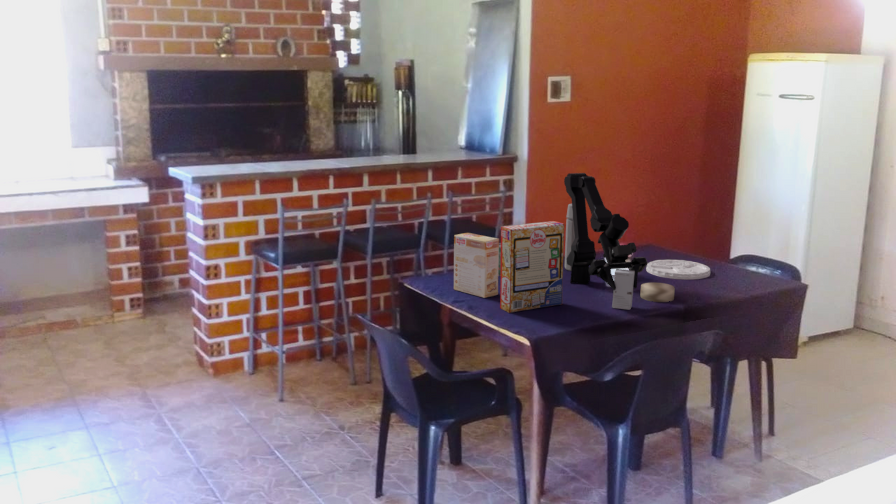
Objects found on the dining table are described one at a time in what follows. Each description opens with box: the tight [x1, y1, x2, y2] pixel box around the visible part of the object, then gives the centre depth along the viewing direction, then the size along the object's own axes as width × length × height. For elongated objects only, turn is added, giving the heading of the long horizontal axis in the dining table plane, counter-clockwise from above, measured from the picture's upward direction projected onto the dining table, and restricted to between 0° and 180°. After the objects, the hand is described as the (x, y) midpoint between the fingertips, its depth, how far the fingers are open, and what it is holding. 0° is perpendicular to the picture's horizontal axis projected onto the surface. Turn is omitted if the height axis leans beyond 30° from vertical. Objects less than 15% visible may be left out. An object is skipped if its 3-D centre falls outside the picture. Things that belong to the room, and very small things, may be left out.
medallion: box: [645, 259, 711, 280], centre depth 309 cm, size 24×27×2 cm
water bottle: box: [564, 203, 575, 272], centre depth 307 cm, size 9×8×25 cm
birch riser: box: [639, 281, 676, 303], centre depth 272 cm, size 11×11×4 cm
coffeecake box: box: [453, 232, 500, 299], centre depth 275 cm, size 15×7×20 cm, turn 44°
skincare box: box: [611, 268, 635, 310], centre depth 259 cm, size 6×4×12 cm
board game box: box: [499, 220, 565, 314], centre depth 257 cm, size 20×6×27 cm, turn 117°
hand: (625, 288), depth 258 cm, fingers closed on skincare box, 7 cm apart
